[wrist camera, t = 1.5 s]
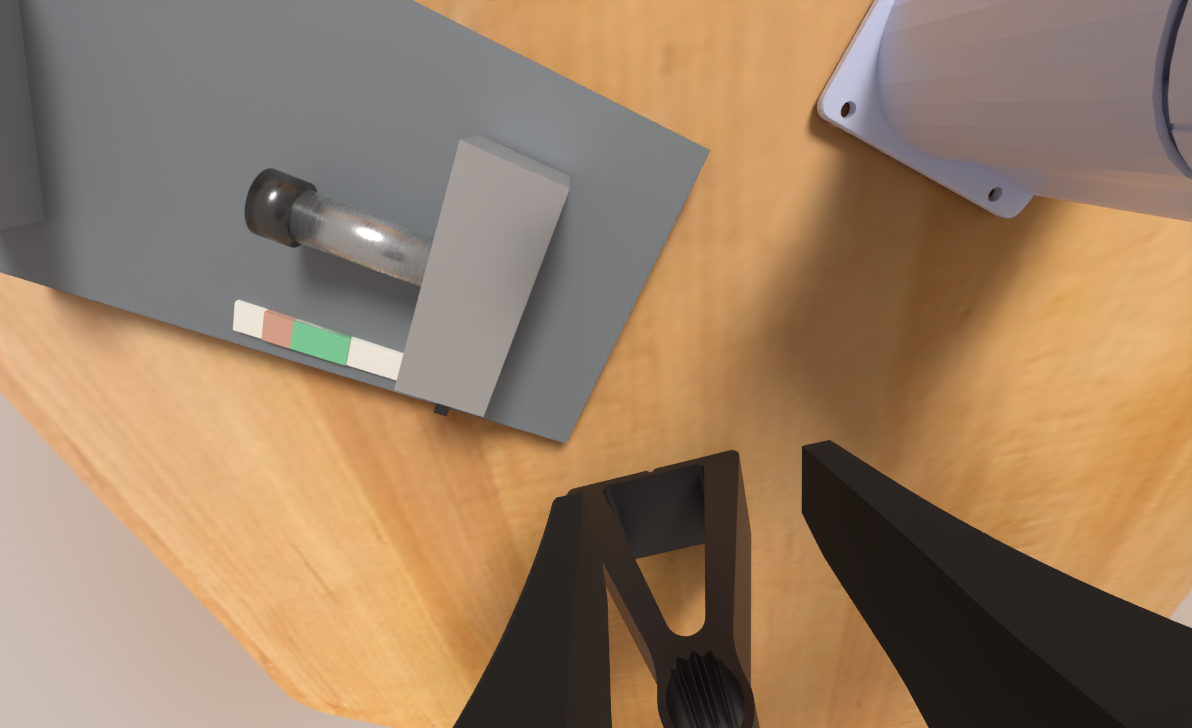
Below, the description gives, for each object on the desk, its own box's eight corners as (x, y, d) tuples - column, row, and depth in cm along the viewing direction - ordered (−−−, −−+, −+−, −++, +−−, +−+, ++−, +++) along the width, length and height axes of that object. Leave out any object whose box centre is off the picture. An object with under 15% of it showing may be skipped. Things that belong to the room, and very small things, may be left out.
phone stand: (596, 562, 27) (615, 852, 16) (567, 489, 24) (566, 783, 13) (748, 527, 26) (871, 807, 16) (737, 448, 23) (877, 724, 13)
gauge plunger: (569, 175, 15) (569, 188, 12) (480, 414, 19) (466, 461, 16) (309, 58, 13) (243, 43, 10) (274, 351, 17) (221, 393, 15)
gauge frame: (699, 147, 16) (740, 157, 12) (565, 423, 22) (565, 491, 18) (-24, -215, 11) (-335, -390, 8) (38, 258, 17) (-123, 301, 13)
